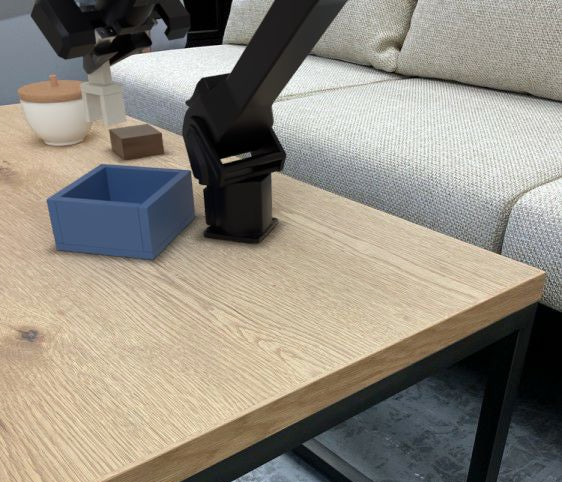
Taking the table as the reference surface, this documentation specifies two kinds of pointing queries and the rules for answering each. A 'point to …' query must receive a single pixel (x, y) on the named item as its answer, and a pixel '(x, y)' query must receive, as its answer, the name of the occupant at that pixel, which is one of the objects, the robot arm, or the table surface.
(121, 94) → the white bracket
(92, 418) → the table surface
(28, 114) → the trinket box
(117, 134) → the block
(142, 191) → the box
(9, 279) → the table surface
